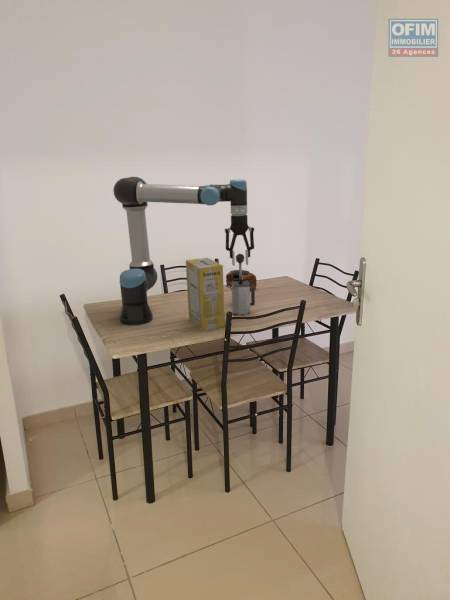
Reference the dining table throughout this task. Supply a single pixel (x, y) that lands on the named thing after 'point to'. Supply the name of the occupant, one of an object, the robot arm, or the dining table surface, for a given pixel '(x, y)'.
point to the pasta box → (205, 293)
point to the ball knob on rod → (240, 265)
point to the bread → (250, 278)
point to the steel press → (242, 298)
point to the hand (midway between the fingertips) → (240, 264)
